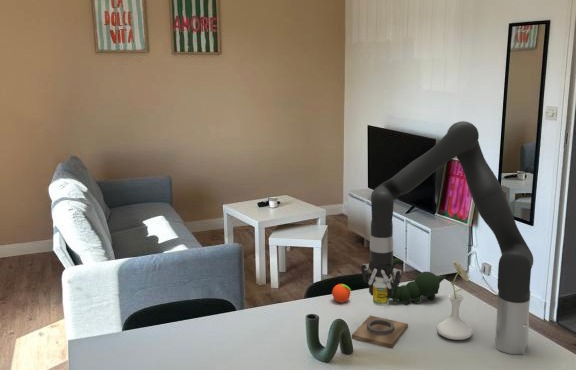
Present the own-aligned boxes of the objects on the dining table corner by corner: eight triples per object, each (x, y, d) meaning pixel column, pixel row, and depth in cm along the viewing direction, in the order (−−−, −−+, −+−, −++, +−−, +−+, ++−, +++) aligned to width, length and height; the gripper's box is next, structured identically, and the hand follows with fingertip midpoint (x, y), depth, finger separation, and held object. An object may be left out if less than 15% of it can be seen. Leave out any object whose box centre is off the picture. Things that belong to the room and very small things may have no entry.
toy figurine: (388, 312, 209) (452, 301, 212) (384, 265, 205) (449, 254, 207) (380, 302, 218) (442, 291, 221) (377, 256, 214) (439, 246, 216)
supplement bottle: (386, 299, 191) (386, 272, 189) (391, 305, 186) (391, 278, 184) (370, 300, 190) (371, 273, 188) (375, 307, 185) (375, 279, 183)
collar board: (408, 327, 194) (408, 319, 193) (391, 348, 180) (391, 339, 180) (370, 319, 201) (370, 311, 200) (351, 338, 187) (351, 330, 187)
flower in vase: (474, 344, 181) (477, 271, 176) (437, 341, 184) (440, 269, 178) (469, 325, 194) (473, 257, 188) (435, 323, 196) (438, 255, 191)
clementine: (355, 300, 216) (355, 283, 215) (348, 307, 211) (347, 289, 209) (337, 296, 221) (337, 279, 219) (329, 302, 215) (328, 285, 213)
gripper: (406, 247, 183) (405, 296, 187) (365, 241, 191) (365, 288, 194) (398, 255, 177) (397, 304, 181) (356, 248, 184) (356, 296, 188)
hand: (380, 296), depth 188 cm, fingers closed on supplement bottle, 5 cm apart
